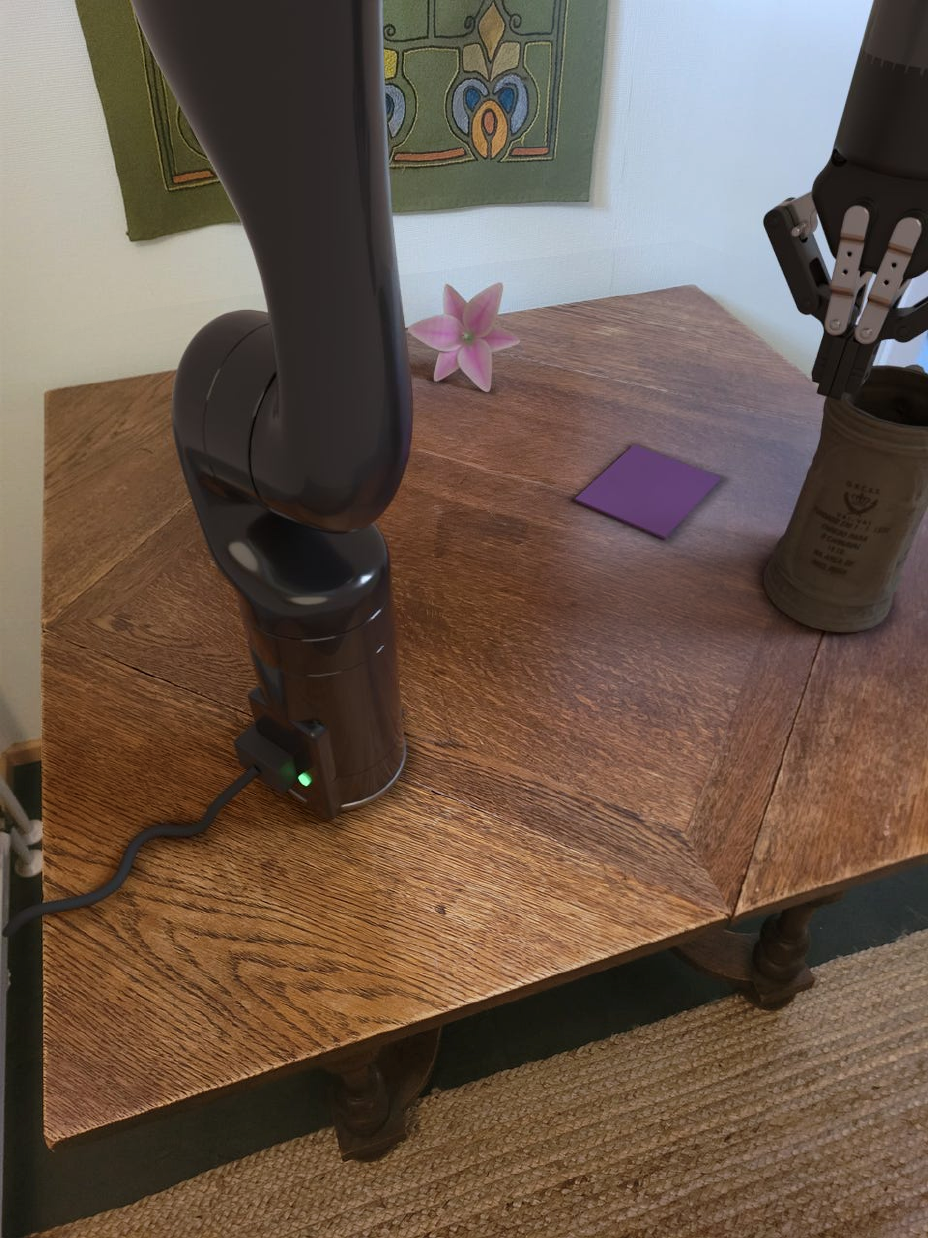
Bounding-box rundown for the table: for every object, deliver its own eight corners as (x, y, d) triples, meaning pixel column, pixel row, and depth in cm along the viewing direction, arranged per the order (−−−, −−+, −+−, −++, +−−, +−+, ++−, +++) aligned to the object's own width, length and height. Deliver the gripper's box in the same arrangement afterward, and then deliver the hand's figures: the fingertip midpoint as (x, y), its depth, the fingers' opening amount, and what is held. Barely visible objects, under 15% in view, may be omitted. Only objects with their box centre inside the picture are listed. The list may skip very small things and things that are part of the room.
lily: (400, 367, 108) (392, 321, 98) (464, 304, 110) (461, 253, 100) (474, 425, 105) (472, 382, 96) (537, 359, 107) (541, 311, 98)
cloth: (664, 539, 82) (665, 537, 82) (574, 500, 87) (574, 498, 86) (720, 479, 89) (720, 477, 89) (633, 446, 94) (634, 444, 93)
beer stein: (887, 654, 72) (990, 437, 59) (754, 621, 74) (824, 406, 61) (888, 551, 83) (975, 349, 70) (772, 525, 85) (835, 326, 72)
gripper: (776, 38, 40) (702, 383, 52) (1099, 85, 34) (930, 460, 46) (836, 13, 44) (754, 337, 56) (1131, 51, 38) (969, 402, 50)
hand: (834, 392), depth 51 cm, fingers closed
